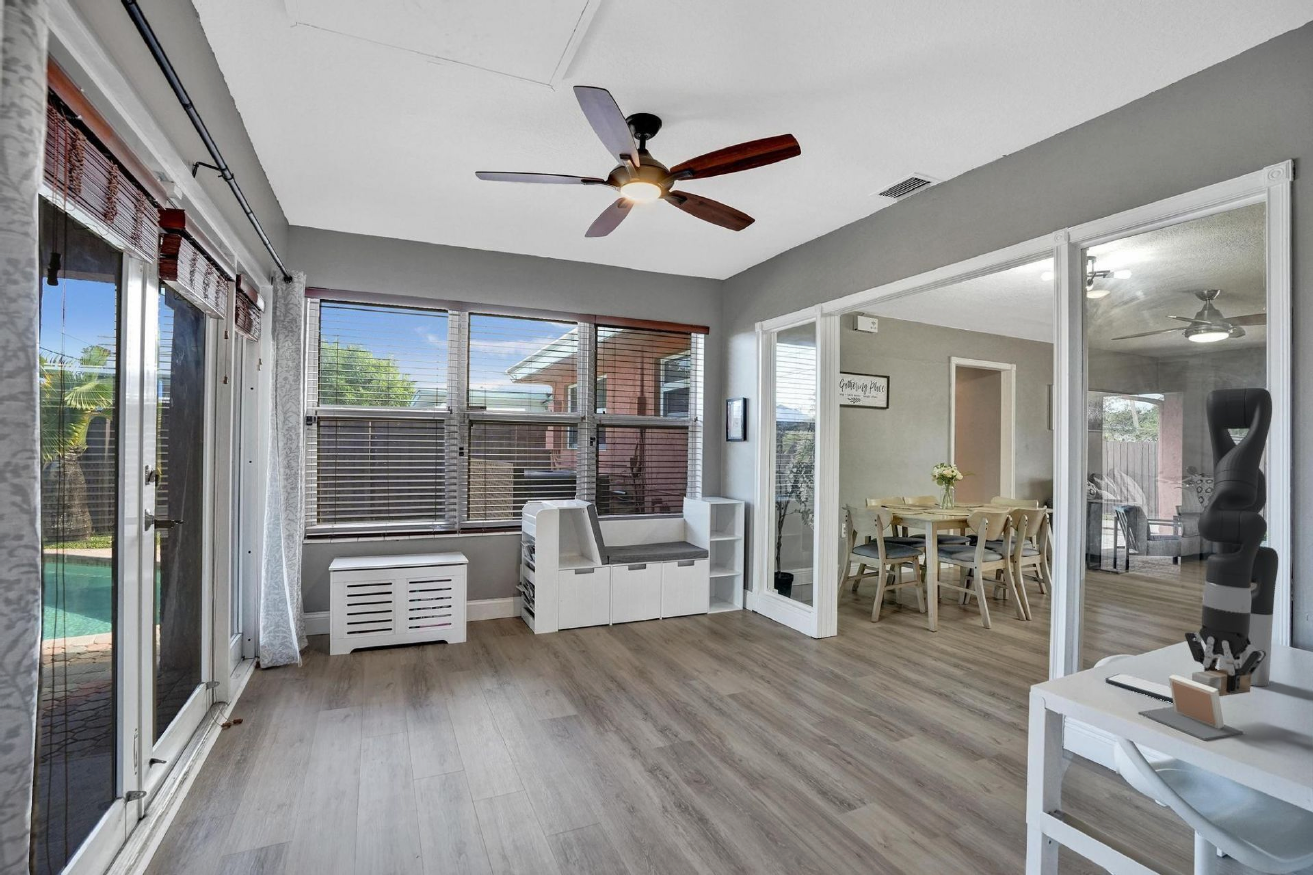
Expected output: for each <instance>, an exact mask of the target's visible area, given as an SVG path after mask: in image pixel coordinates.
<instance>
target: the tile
mask: <svg viewBox="0 0 1313 875" xmlns="http://www.w3.org/2000/svg"><path fill="white" fill-rule="evenodd" d="M1168 680H1169V685H1170V686H1169V687H1171V692H1172V698H1173V704H1172V705H1173V707H1174V709H1175V712H1176V713H1179V714H1181V715H1184V716H1186V717H1189V718H1192V719H1194V720H1197V721H1200V722H1202V723H1205V724H1207V725H1210V726H1213V727H1215V728H1218V729H1220V728H1222V727H1223V726H1224V725H1225V724H1224V718H1223V712H1222V705H1221V700H1220V696H1219V693H1218V689H1216V688H1213V687H1210V686H1207V685H1204V684H1201V683H1198V682H1195V681H1192V679H1189V678H1186V677H1182V676H1181V675H1177V674H1171V675H1170V676H1169V677H1168Z"/></svg>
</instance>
